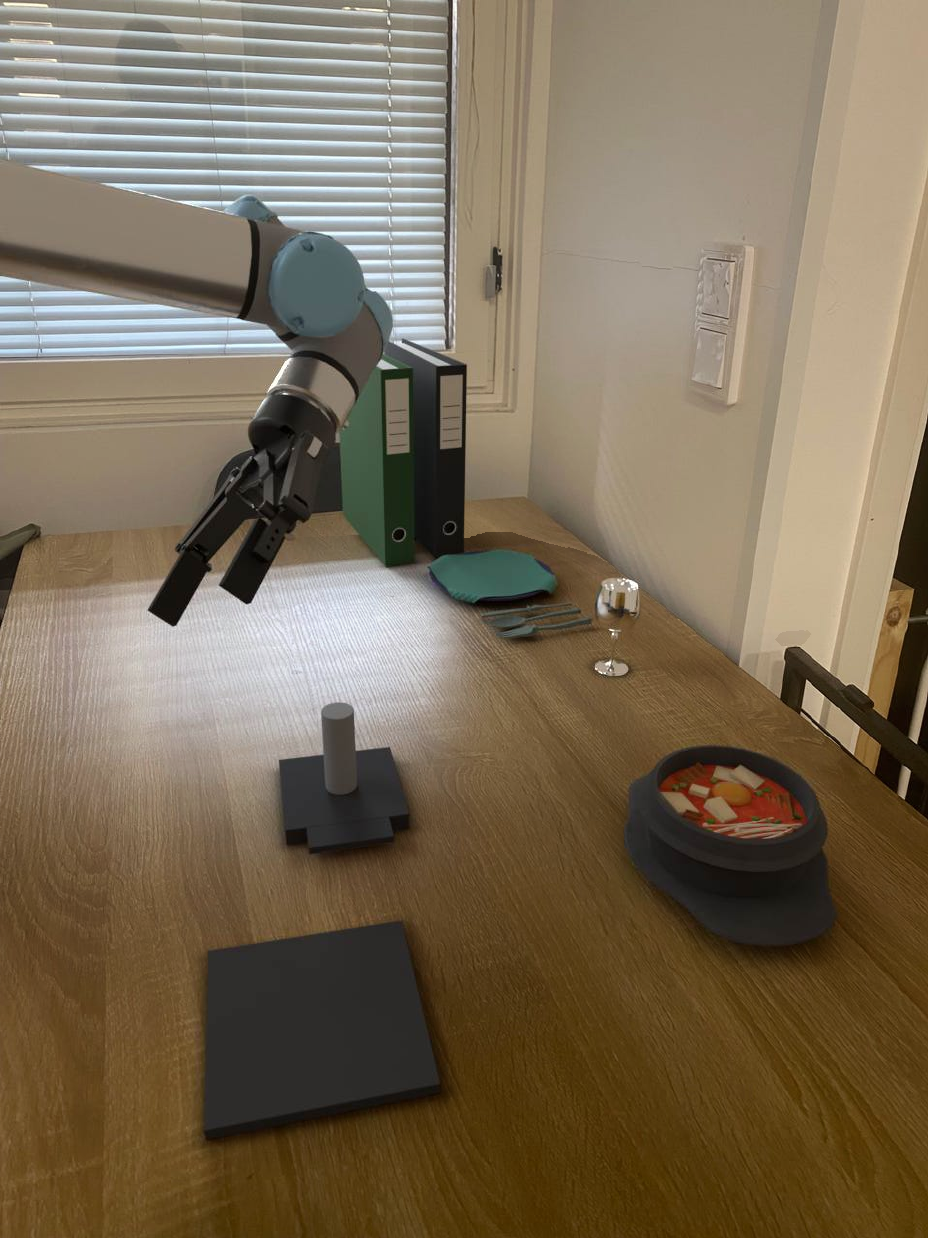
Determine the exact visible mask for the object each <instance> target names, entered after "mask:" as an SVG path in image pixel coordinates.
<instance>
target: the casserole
mask: <svg viewBox="0 0 928 1238" xmlns="http://www.w3.org/2000/svg"><path fill="white" fill-rule="evenodd" d="M628 803H629V804H628V806H629V810H628V813H627V817H626V821H625V824H624V828H623V840H624V846H625V849H626V852H627V854H628V857H629V858H630V860H631V861H632V863H633V864H634V866H635V867H636V869H637V870H638V871H639V872H640V873H641V875H643V876H644V877H645V878H646V879H647V880H648V881H649V883H650V884H653V886H655V887H656V888H658V889H659V890H661V891H662V892H664V894H666V895H668V897H671V898H672V899H673V900H674V901H676V902H678V903H679V904H680V905H682V906H683V907H684V908H685V909H686V910H687V911H688V912H690V914H691V915H692V916H693V917H695V918H696V919H697V920H698V921H699V922H700V923H701V924H702V925H703V926H704V927H705V928H706V929H707V930H708V931H709V932H710V933H713V934H714V935H717V936H719V937H721V938H722V939H725V940H726V941H731V942H734V943H738V944H743V945H747V946H748V945H749V946H757V947H758V946H761V947H781V946H782V947H783V946H792V945H797V944H802V943H806V942H810V941H812V940H814V939H816V938H818V937H821V936H824V935H825V934H826V933H827V932H828V931H830V930H831V929H832V928H833V927H834V926H835V923H836V921H837V917H838V913H837V909H836V907H835V906H836V905H835V903H834V901H833V897H832V894H831V891H830V888H829V867H828V866H829V865H828V860H827V856H826V853H825V851H824V848H823V847H824V846H825V844H826V841H827V838H828V834H829V831H828V821H827V818H826V816H825V813H824V811H823V809H822V808H821V805H820V802H819V798H818V796H817V793H816V791H815V790H814V788H813V787H812V786H811V784H810V783H809V782H808V781H807V780H806V779H805V778H804V777H803V776H802V775H801V774H800V773H798V771H795V770H794V769H792V768H791V767H790V766H788V765H787V764H784V763H783V762H781V761H779V760H777V759H775V758H773V757H771V756H768V755H765V754H763V753H760V752H757V751H753V750H750V749H746V748H742V747H736V746H730V745H717V744H705V745H704V744H701V745H694V746H687V747H684V748H681V749H677V750H674V751H673V752H670V753H668V754H667V755H665V756H663V757H662V758H661V759H660V760H659V761H657V762H656V764H655V766H654V767H653V769H651V770H650V771H649V772H648V773H647V774H645V775H642V776H641V777H639V778H637V779H635V780H634V781H633V782H632V783H631V785H630V786H629V787H628Z"/></svg>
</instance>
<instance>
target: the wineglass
mask: <svg viewBox="0 0 928 1238" xmlns="http://www.w3.org/2000/svg"><path fill="white" fill-rule="evenodd" d="M594 615H595V616H594V617H595V620H596V622H597V624H598V625H599V626H600V627H601V628H602V629H604V630H606V631H609V632H611V634H610V643H611V650H610V658H609V659H608V658H607V659H601V660H598V661H596V662H595V664H594V670H595V671H596V672H597V673H599V674H601V675H603V676H608V677H621V676H624V675H626V674H627V673H628V672H629V666H628V665H627V664H626V663H624V662H623V661H620V660H617V659H615V656H616V655H615V653H616V646H617V643H618V641H619V633H623V632H627V631H630V630H631V629H633V628H634V627H635V626H636V625H637V623H638V621H639V619H640V615H641V595H640V589H639V585H638V583H637V582H635V581H634V580H631V579H628V578H623V577H612V578H606V579H604V580H602V582H601V584H600V585H599V588H598V592H597V594H596V598H595V603H594Z"/></svg>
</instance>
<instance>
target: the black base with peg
mask: <svg viewBox="0 0 928 1238" xmlns="http://www.w3.org/2000/svg"><path fill="white" fill-rule="evenodd" d="M320 717H321V718H320V719H321V732H322V733H321V735H322V750H323V754H318V755H309V756H300V757H291V758H283V759H278V767H279V777H280V779H279V781H280V791H281V799H282V800H281V801H282V811H283V823H284V833H285V844H286V846H291V845H298V844H305V843H307V846H308V853H309V855H315V854H323V853H330V852H338V851H345V850H351V849H358V848H367V847H372V846H380V845H387V844H395V835H394V831H400V830H401V831H402V830H409V829H410V812H409V807H408V805H407V801H406V797H405V794H404V790H403V788H402V783H401V779H400V777H399V774H398V769H397V767H396V764H395V763H396V762H395V760H394V756H393V753H392V749H391V747H390V746H387V747H386V746H385V747H376V748H369V749H360V750H356V728H355V727H356V726H355V710H354V707H353V706H352V705H351V704H349V703H346V702H340V701H339V702H331V703H328V704H326V705H324V706H323V707H322V708H321V711H320Z"/></svg>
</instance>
